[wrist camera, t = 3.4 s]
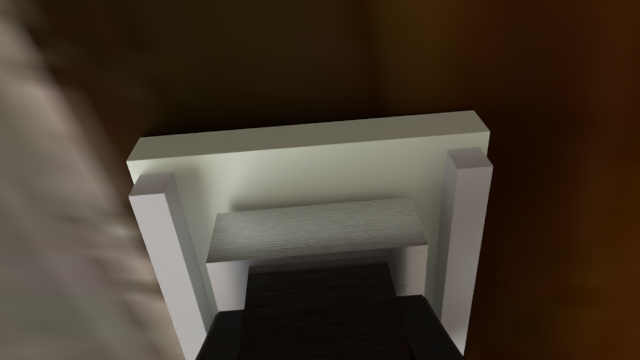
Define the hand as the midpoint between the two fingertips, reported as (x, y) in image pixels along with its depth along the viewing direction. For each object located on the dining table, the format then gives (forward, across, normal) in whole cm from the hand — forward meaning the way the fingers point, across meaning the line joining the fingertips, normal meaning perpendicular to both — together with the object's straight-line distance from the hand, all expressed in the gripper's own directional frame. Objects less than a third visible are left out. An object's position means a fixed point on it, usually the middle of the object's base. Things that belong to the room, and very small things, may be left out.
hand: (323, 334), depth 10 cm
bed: (+4, 0, +2) cm, 5 cm away
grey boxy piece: (+3, 0, +1) cm, 3 cm away
